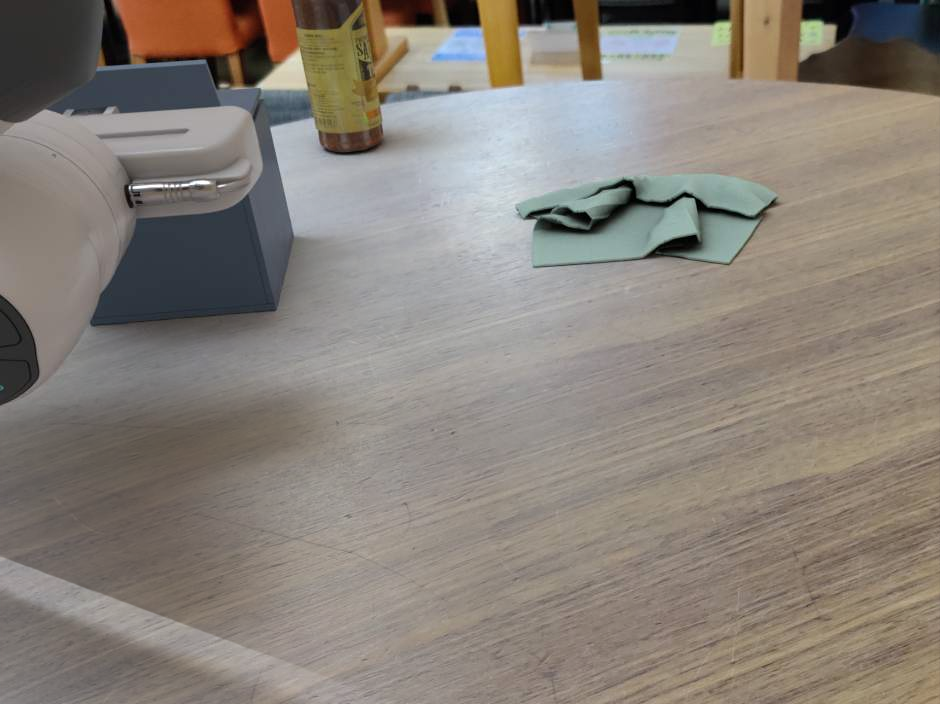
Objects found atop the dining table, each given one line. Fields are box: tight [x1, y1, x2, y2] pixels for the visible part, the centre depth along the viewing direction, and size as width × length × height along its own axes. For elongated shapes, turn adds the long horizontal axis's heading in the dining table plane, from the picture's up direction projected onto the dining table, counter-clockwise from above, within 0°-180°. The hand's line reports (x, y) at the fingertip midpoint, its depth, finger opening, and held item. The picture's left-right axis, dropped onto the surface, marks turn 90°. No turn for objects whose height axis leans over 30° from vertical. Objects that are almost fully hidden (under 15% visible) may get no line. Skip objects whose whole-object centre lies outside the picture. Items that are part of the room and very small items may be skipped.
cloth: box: [514, 173, 780, 268], centre depth 96 cm, size 20×22×2 cm
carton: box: [89, 87, 295, 326], centre depth 87 cm, size 14×13×11 cm
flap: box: [46, 59, 222, 115], centre depth 75 cm, size 7×13×1 cm
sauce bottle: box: [290, 0, 384, 153], centre depth 108 cm, size 7×6×20 cm
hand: (97, 121), depth 72 cm, fingers closed
